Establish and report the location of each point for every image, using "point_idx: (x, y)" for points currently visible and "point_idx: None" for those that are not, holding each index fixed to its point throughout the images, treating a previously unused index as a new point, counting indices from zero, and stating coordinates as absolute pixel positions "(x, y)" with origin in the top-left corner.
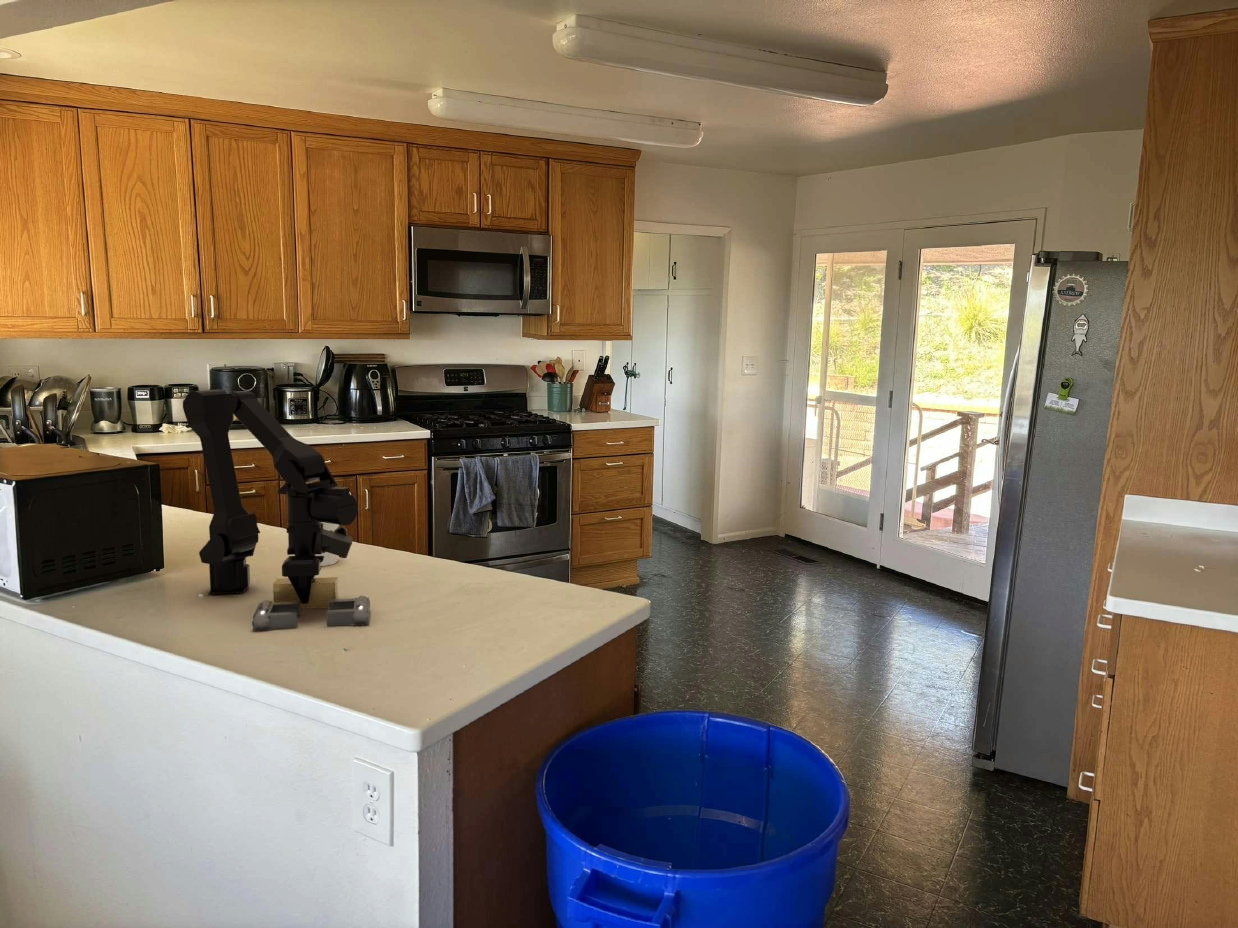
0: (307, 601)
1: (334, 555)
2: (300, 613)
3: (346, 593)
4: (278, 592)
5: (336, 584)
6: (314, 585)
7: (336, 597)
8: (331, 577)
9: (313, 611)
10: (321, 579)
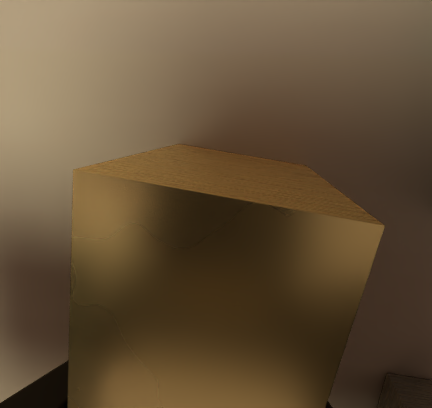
0: None
1: None
2: (411, 385)
3: (5, 77)
4: None
5: (228, 180)
6: None
7: (255, 163)
8: (78, 258)
9: None
10: (160, 388)
